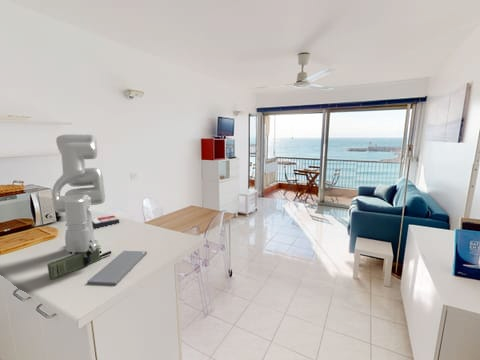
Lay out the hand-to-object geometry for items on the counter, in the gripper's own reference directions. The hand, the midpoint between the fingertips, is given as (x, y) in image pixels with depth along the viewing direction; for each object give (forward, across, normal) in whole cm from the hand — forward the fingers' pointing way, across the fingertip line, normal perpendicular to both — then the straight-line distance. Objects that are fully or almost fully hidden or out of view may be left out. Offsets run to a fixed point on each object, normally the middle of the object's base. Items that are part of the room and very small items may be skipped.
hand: (82, 263), depth 107 cm
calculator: (+1, -24, +51) cm, 56 cm away
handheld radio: (+1, +1, 0) cm, 1 cm away
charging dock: (+1, +18, 0) cm, 18 cm away
